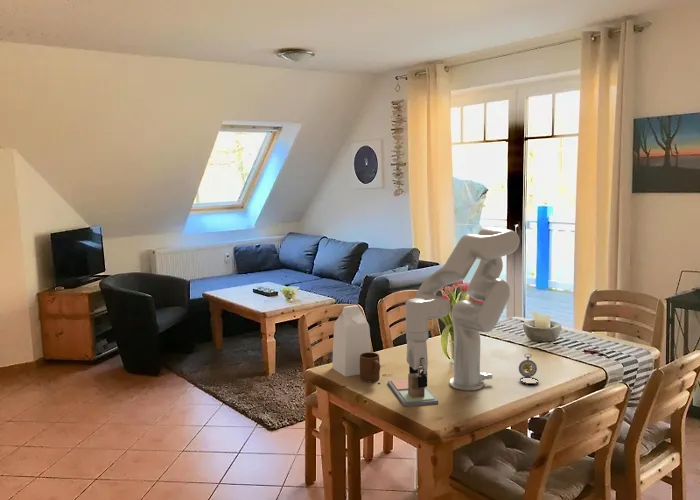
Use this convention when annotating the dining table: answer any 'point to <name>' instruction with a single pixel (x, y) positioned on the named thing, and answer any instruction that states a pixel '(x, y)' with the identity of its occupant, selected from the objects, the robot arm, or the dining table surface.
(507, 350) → the dining table surface
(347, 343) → the milk
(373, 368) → the mug
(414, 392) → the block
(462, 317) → the robot arm
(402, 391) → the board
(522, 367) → the pocket watch
